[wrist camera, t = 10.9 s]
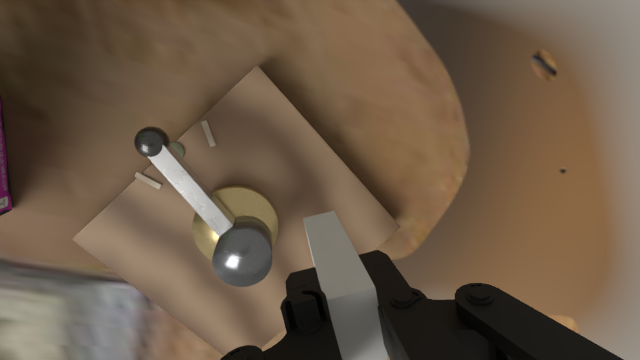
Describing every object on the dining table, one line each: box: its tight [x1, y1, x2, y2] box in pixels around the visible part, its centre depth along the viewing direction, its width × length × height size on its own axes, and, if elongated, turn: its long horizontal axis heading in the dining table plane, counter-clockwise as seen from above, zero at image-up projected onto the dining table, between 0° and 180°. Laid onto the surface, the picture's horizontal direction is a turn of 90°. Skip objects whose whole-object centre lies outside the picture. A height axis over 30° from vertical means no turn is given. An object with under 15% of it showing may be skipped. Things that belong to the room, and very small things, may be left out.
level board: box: [72, 65, 400, 356], centre depth 36 cm, size 24×22×2 cm
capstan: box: [134, 127, 278, 287], centre depth 30 cm, size 16×8×6 cm, turn 35°
